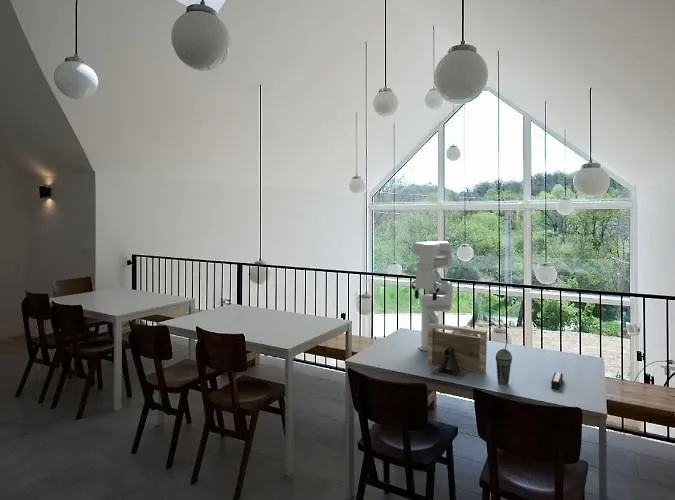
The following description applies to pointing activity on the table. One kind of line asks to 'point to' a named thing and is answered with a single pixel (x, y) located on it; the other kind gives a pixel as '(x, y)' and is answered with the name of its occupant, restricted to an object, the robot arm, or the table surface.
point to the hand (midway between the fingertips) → (425, 299)
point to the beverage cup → (503, 365)
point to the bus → (557, 381)
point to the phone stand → (453, 362)
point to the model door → (457, 348)
